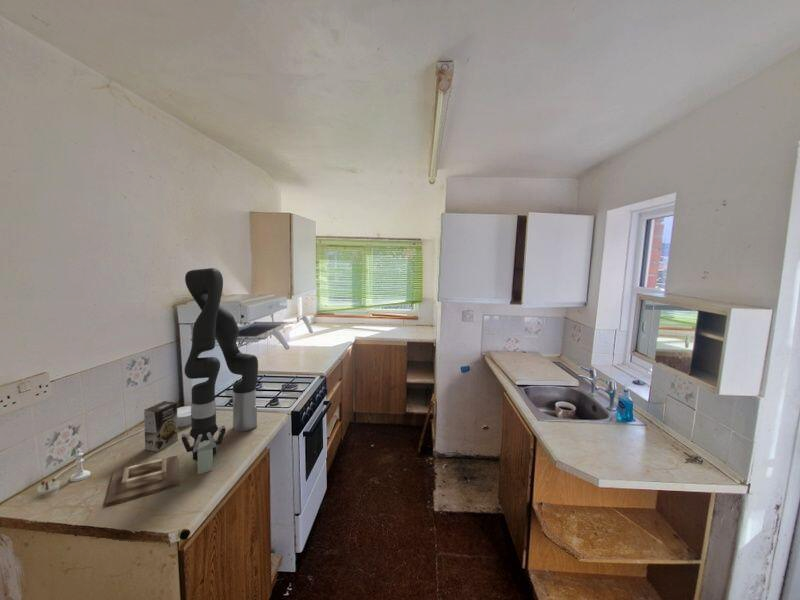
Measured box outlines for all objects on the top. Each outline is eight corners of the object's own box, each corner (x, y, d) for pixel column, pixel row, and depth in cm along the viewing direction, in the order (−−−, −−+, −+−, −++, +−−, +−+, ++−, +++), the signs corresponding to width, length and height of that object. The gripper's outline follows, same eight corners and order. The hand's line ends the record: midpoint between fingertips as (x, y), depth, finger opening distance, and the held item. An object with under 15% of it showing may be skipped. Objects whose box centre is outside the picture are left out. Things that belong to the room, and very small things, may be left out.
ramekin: (189, 429, 144) (188, 417, 144) (163, 427, 144) (163, 416, 144) (204, 417, 155) (204, 406, 155) (181, 415, 156) (180, 405, 155)
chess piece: (79, 472, 113) (77, 444, 112) (94, 472, 114) (92, 444, 112) (65, 481, 108) (63, 452, 107) (82, 481, 109) (80, 452, 108)
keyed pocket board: (177, 457, 124) (177, 448, 123) (178, 485, 109) (177, 475, 108) (114, 473, 113) (113, 463, 113) (105, 506, 99) (105, 495, 98)
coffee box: (158, 452, 126) (157, 412, 125) (144, 449, 128) (142, 409, 126) (178, 440, 135) (177, 402, 133) (165, 437, 136) (164, 400, 135)
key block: (211, 459, 123) (210, 439, 122) (212, 470, 118) (212, 448, 117) (196, 463, 121) (196, 442, 120) (198, 474, 115) (197, 452, 114)
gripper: (225, 404, 124) (225, 447, 126) (179, 413, 116) (180, 458, 118) (227, 412, 118) (228, 457, 120) (179, 422, 110) (180, 470, 112)
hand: (204, 458), depth 119 cm, fingers closed on key block, 4 cm apart
